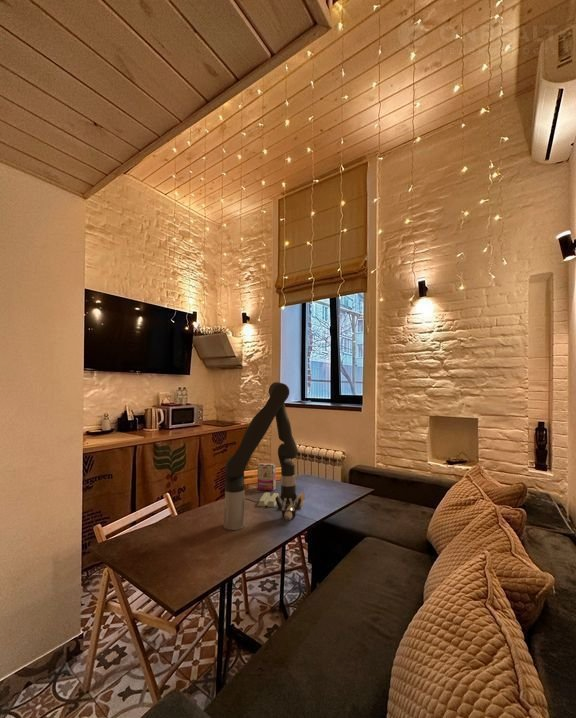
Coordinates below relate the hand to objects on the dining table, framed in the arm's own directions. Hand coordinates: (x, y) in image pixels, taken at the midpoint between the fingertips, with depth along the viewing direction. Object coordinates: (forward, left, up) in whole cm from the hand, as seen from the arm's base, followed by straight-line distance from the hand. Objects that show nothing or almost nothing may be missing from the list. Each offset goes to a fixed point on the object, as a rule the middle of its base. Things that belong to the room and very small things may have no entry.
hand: (288, 517), depth 168 cm
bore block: (0, +20, 0) cm, 20 cm away
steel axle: (0, +4, 0) cm, 4 cm away
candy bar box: (-22, +42, -1) cm, 48 cm away
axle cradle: (-15, +20, 0) cm, 25 cm away
